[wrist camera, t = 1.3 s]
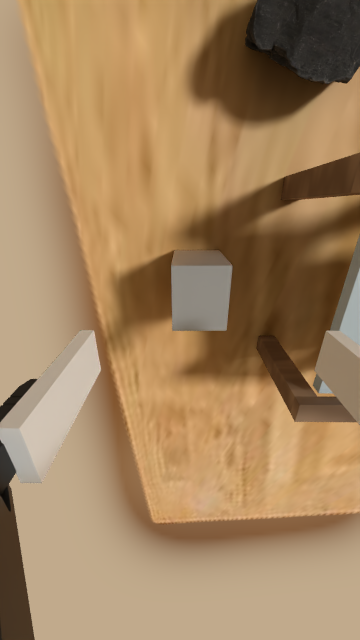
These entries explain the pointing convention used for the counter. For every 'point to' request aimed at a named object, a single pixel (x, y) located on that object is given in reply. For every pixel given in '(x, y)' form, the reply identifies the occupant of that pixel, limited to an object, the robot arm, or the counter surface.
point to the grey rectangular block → (200, 290)
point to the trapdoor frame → (304, 405)
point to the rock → (309, 36)
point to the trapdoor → (347, 310)
